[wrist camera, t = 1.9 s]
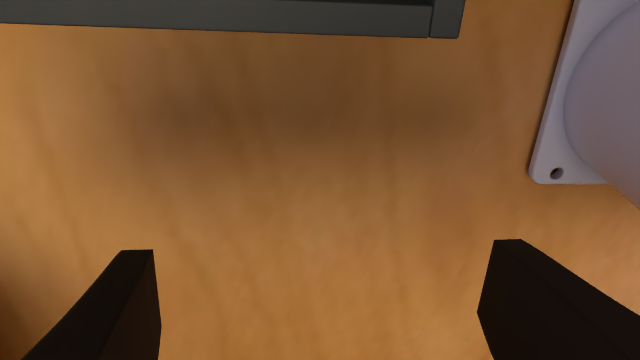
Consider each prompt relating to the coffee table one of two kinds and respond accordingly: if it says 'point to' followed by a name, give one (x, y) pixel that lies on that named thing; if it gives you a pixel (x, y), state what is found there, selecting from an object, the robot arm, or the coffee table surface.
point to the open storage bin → (250, 15)
